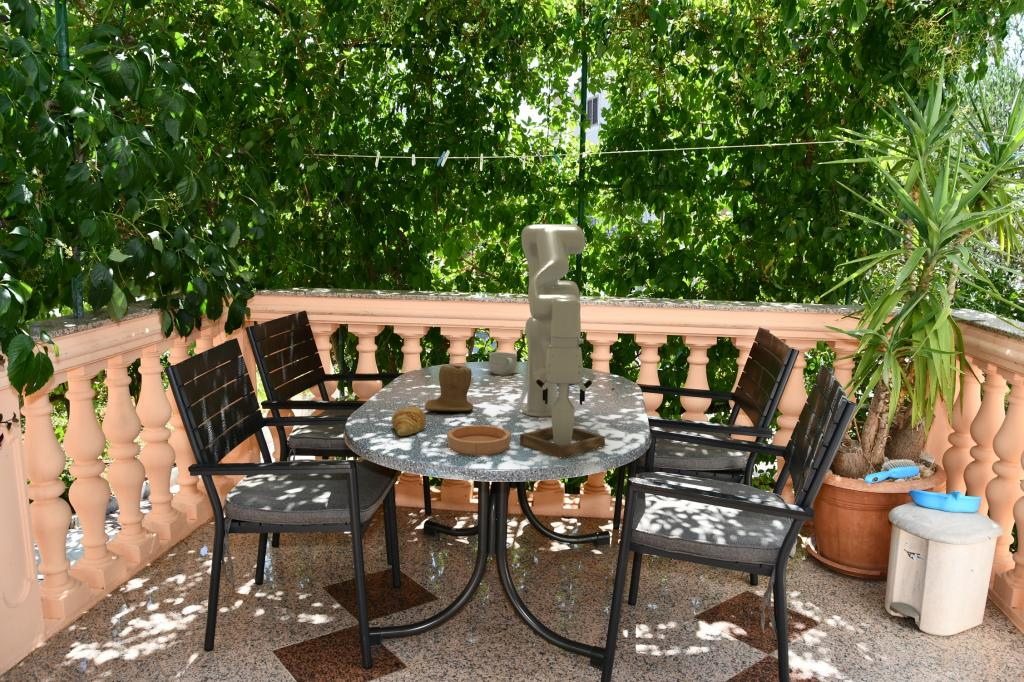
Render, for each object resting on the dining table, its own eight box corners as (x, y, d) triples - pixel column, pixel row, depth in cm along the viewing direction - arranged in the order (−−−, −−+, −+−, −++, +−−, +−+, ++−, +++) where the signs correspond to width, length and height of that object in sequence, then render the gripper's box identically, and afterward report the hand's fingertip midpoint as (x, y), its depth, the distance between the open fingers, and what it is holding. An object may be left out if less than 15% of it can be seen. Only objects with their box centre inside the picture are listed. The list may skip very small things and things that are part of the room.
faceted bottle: (549, 448, 241) (551, 370, 238) (552, 441, 248) (554, 366, 244) (572, 449, 240) (574, 372, 236) (574, 443, 246) (576, 367, 243)
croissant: (411, 450, 249) (423, 427, 248) (380, 434, 249) (392, 410, 247) (424, 429, 270) (436, 407, 268) (396, 413, 270) (407, 391, 268)
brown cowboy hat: (474, 406, 287) (474, 361, 284) (472, 415, 275) (472, 369, 272) (428, 405, 287) (428, 360, 285) (424, 414, 275) (424, 368, 273)
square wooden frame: (562, 433, 256) (562, 423, 255) (604, 446, 243) (605, 436, 243) (520, 444, 245) (520, 434, 244) (562, 458, 232) (562, 447, 232)
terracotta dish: (482, 433, 255) (482, 422, 254) (522, 446, 242) (522, 434, 242) (435, 444, 244) (435, 432, 243) (474, 459, 231) (474, 446, 230)
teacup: (487, 371, 340) (487, 351, 339) (514, 370, 342) (514, 350, 341) (492, 379, 327) (492, 358, 326) (520, 378, 329) (521, 357, 328)
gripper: (595, 341, 242) (594, 401, 245) (533, 340, 243) (532, 399, 245) (596, 345, 235) (595, 407, 237) (532, 344, 235) (532, 406, 238)
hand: (563, 403), depth 241 cm, fingers open, 9 cm apart
